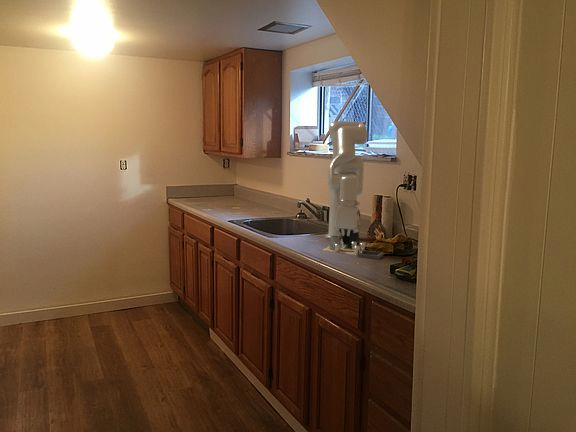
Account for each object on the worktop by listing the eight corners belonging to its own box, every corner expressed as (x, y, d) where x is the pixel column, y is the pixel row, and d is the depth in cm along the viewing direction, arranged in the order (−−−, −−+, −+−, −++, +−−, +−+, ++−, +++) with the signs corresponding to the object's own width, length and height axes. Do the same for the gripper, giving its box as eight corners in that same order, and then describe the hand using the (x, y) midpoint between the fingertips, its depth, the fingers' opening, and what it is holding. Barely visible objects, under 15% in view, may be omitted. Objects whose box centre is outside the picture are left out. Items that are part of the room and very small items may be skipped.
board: (328, 247, 246) (328, 246, 246) (366, 251, 239) (366, 250, 239) (320, 251, 235) (320, 250, 235) (359, 256, 228) (359, 254, 228)
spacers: (341, 247, 243) (342, 240, 243) (365, 250, 239) (365, 242, 238) (334, 251, 233) (334, 244, 232) (358, 254, 228) (359, 246, 228)
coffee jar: (354, 245, 253) (355, 207, 250) (361, 248, 245) (363, 209, 243) (335, 246, 250) (337, 207, 247) (342, 249, 242) (344, 209, 240)
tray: (362, 254, 232) (363, 250, 231) (383, 256, 228) (383, 252, 228) (357, 258, 223) (357, 253, 223) (378, 260, 220) (378, 256, 220)
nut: (328, 248, 240) (329, 235, 239) (339, 248, 241) (339, 235, 240) (330, 250, 236) (331, 237, 235) (341, 250, 236) (342, 237, 236)
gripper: (366, 204, 235) (364, 244, 238) (334, 201, 240) (332, 240, 243) (362, 206, 228) (360, 247, 231) (329, 203, 233) (327, 243, 236)
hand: (345, 244), depth 237 cm, fingers closed
